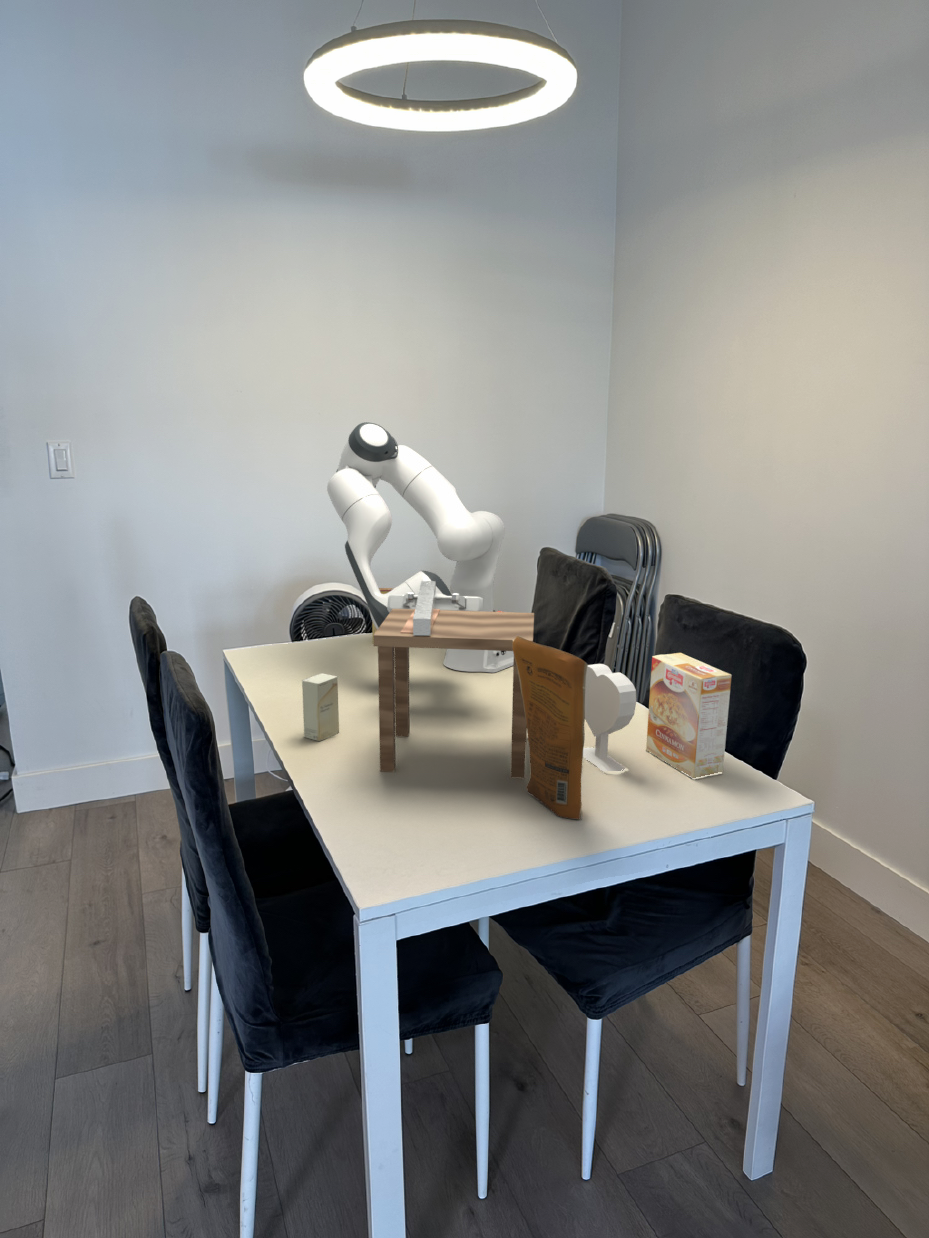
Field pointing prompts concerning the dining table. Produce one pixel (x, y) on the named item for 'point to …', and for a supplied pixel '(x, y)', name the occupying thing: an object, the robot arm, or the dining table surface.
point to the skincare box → (320, 706)
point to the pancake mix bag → (553, 723)
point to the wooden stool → (445, 634)
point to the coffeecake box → (688, 714)
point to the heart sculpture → (606, 711)
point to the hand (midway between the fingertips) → (432, 596)
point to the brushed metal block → (424, 608)
